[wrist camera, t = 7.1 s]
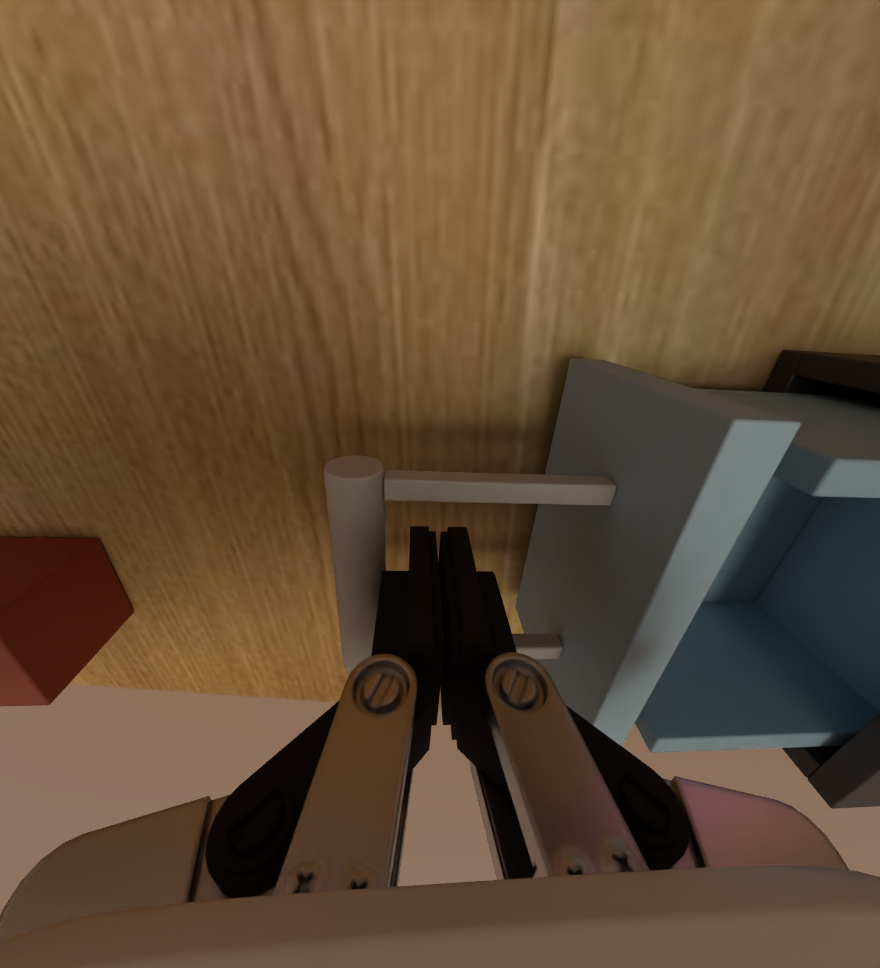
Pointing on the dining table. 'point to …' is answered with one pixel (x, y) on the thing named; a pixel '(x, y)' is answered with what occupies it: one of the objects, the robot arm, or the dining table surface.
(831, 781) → the drawer cabinet
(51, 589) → the block
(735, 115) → the dining table surface
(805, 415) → the grey drawer
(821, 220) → the dining table surface
